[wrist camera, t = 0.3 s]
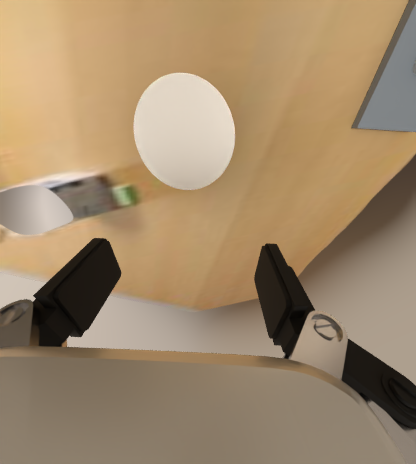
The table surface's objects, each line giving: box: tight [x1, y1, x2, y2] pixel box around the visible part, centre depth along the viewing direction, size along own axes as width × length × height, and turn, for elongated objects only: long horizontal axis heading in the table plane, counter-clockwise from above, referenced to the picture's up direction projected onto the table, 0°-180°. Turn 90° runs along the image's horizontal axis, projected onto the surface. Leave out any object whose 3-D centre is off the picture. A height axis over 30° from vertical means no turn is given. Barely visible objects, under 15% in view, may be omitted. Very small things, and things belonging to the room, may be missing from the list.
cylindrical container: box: [134, 73, 235, 190], centre depth 22 cm, size 7×7×25 cm
